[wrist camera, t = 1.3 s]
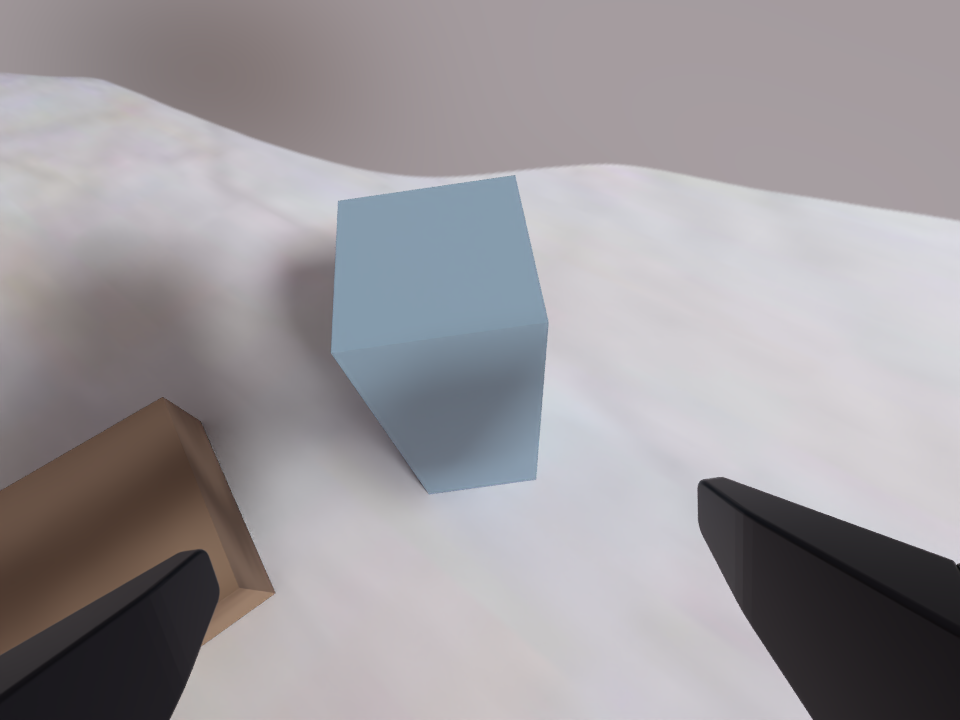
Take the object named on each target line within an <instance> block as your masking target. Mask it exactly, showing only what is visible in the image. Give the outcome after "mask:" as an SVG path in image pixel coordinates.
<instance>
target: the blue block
mask: <svg viewBox="0 0 960 720" xmlns="http://www.w3.org/2000/svg"><path fill="white" fill-rule="evenodd" d="M547 335H548V318H547V314H546V309H545V305H544V300H543V296H542V292H541V287H540V283H539V278H538V274H537V270H536V265H535V261H534V256H533V252H532V248H531V243H530V239H529V234H528V230H527V226H526V221H525V217H524V212H523V208H522V204H521V199H520V195H519V190H518V186H517V182H516V177H515V175H513V176H506V177H499V178H493V179H486V180H479V181H472V182H465V183H458V184H451V185H444V186H438V187H431V188H424V189H417V190H410V191H403V192H396V193H389V194H383V195H376V196H369V197H362V198H355V199H348V200H341V201H338V214H337V235H336V257H335V278H334V299H333V320H332V342H331V354H332V355H333V357H334V358H335V360H336V361H337V363H338V364H339V365H340V367H341V368H342V370H343V371H344V373H345V374H346V375H347V377H348V378H349V380H350V381H351V383H352V384H353V386H354V387H355V388H356V390H357V391H358V393H359V394H360V396H361V397H362V399H363V400H364V401H365V403H366V404H367V406H368V407H369V409H370V410H371V411H372V413H373V414H374V416H375V417H376V419H377V420H378V422H379V423H380V424H381V426H382V427H383V429H384V430H385V432H386V433H387V434H388V436H389V437H390V439H391V440H392V442H393V443H394V445H395V446H396V447H397V449H398V450H399V452H400V453H401V455H402V456H403V457H404V459H405V460H406V462H407V463H408V465H409V466H410V468H411V469H412V470H413V472H414V473H415V475H416V476H417V478H418V479H419V480H420V482H421V483H422V485H423V486H424V488H425V489H426V491H427V492H428V493H429V494H435V493H442V492H449V491H457V490H464V489H471V488H478V487H486V486H493V485H500V484H507V483H515V482H522V481H529V480H536V472H537V460H538V447H539V435H540V422H541V410H542V397H543V385H544V372H545V360H546V347H547Z"/></svg>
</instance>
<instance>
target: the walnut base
mask: <svg viewBox="0 0 960 720" xmlns="http://www.w3.org/2000/svg"><path fill="white" fill-rule="evenodd" d="M196 549H203V550H205V551H206V552H207V553H208V555H209V557H210V560H211V563H212V566H213V569H214V571H215V574H216V577H217V580H218V583H219V588H220V595H219V600H218V603H217V606H216V608H215V611H214V614H213V616H212V619H211V622H210V624H209V627H208V629H207V632H206V635H205V637H204V640H203V643H202V645H204V644H205V643H207V642H208V641H209V640H211V639H212V638H214V637H215V636H216V635H218V634H219V633H221V632H222V631H223V630H225V629H226V628H227V627H229V626H230V625H232V624H233V623H234V622H236V621H237V620H239V619H240V618H241V617H243V616H244V615H246V614H247V613H248V612H250V611H251V610H253V609H254V608H255V607H257V606H258V605H260V604H261V603H262V602H264V601H265V600H267V599H268V598H269V597H271V596H272V595H274V594H275V591H274V589H273V587H272V584H271V582H270V580H269V578H268V575H267V573H266V571H265V568H264V566H263V564H262V562H261V559H260V557H259V555H258V552H257V550H256V548H255V545H254V543H253V541H252V539H251V536H250V534H249V532H248V529H247V527H246V525H245V522H244V520H243V518H242V516H241V513H240V511H239V509H238V506H237V504H236V502H235V500H234V497H233V495H232V493H231V490H230V488H229V486H228V483H227V481H226V479H225V477H224V474H223V472H222V470H221V467H220V465H219V463H218V460H217V458H216V456H215V454H214V451H213V449H212V447H211V444H210V442H209V440H208V438H207V435H206V433H205V431H204V428H203V426H202V424H201V421H199V420H198V419H196V418H195V417H193V416H192V415H190V414H188V413H187V412H185V411H184V410H182V409H181V408H179V407H178V406H176V405H174V404H173V403H171V402H170V401H168V400H167V399H165V398H164V397H162V398H160V399H158V400H157V401H155V402H153V403H151V404H150V405H148V406H146V407H144V408H143V409H141V410H139V411H138V412H136V413H134V414H132V415H131V416H129V417H127V418H125V419H124V420H122V421H120V422H119V423H117V424H115V425H113V426H112V427H110V428H108V429H106V430H105V431H103V432H101V433H100V434H98V435H96V436H94V437H93V438H91V439H89V440H87V441H86V442H84V443H82V444H81V445H79V446H77V447H75V448H74V449H72V450H70V451H68V452H67V453H65V454H63V455H62V456H60V457H58V458H56V459H55V460H53V461H51V462H49V463H48V464H46V465H44V466H43V467H41V468H39V469H37V470H36V471H34V472H32V473H30V474H29V475H27V476H25V477H24V478H22V479H20V480H18V481H17V482H15V483H13V484H11V485H10V486H8V487H6V488H4V489H3V490H1V491H0V655H1V654H3V653H5V652H7V651H8V650H10V649H12V648H13V647H15V646H17V645H19V644H20V643H22V642H24V641H26V640H27V639H29V638H31V637H33V636H34V635H36V634H38V633H40V632H41V631H43V630H45V629H47V628H48V627H50V626H52V625H53V624H55V623H57V622H59V621H60V620H62V619H64V618H66V617H67V616H69V615H71V614H73V613H74V612H76V611H78V610H80V609H81V608H83V607H85V606H86V605H88V604H90V603H92V602H93V601H95V600H97V599H99V598H100V597H102V596H104V595H106V594H107V593H109V592H111V591H113V590H114V589H116V588H118V587H120V586H121V585H123V584H125V583H126V582H128V581H130V580H132V579H133V578H135V577H137V576H139V575H140V574H142V573H144V572H146V571H147V570H149V569H151V568H153V567H154V566H156V565H158V564H159V563H161V562H163V561H165V560H166V559H168V558H170V557H172V556H173V555H175V554H177V553H179V552H182V551H189V550H196ZM202 645H201V646H202Z"/></svg>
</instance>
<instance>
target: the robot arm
mask: <svg viewBox="0 0 960 720" xmlns="http://www.w3.org/2000/svg"><path fill="white" fill-rule="evenodd" d="M698 523H699V527H700V530H701V533H702V535H703V537H704V539H705V541H706V543H707V545H708V547H709V549H710V551H711V553H712V555H713V557H714V558H715V560H716V562H717V564H718V566H719V568H720V570H721V572H722V574H723V576H724V578H725V580H726V582H727V584H728V585H729V587H730V589H731V591H732V593H733V595H734V597H735V599H736V601H737V603H738V604H739V606H740V608H741V610H742V612H743V613H744V615H745V616H746V618H747V620H748V621H749V623H750V624H751V626H752V628H753V629H754V631H755V632H756V634H757V635H758V637H759V638H760V640H761V641H762V643H763V644H764V646H765V647H766V649H767V650H768V652H769V653H770V655H771V656H772V658H773V660H774V661H775V663H776V664H777V666H778V667H779V669H780V670H781V672H782V673H783V675H784V676H785V678H786V679H787V681H788V682H789V684H790V685H791V687H792V688H793V690H794V692H795V693H796V695H797V696H798V698H799V699H800V701H801V702H802V704H803V705H804V707H805V708H806V710H807V711H808V713H809V714H810V716H811V717H812V719H813V720H960V563H959V564H957V565H956V563H955V562H954V561H953V560H950V559H948V558H945V557H942V556H939V555H937V554H934V553H931V552H928V551H926V550H923V549H920V548H917V547H915V546H912V545H909V544H906V543H903V542H901V541H898V540H895V539H892V538H890V537H887V536H884V535H881V534H879V533H876V532H873V531H870V530H868V529H865V528H862V527H859V526H857V525H854V524H851V523H848V522H846V521H843V520H840V519H837V518H835V517H832V516H829V515H826V514H823V513H821V512H818V511H815V510H812V509H810V508H807V507H804V506H801V505H799V504H796V503H793V502H790V501H788V500H785V499H782V498H779V497H777V496H774V495H771V494H768V493H766V492H763V491H760V490H757V489H755V488H752V487H749V486H746V485H744V484H741V483H738V482H735V481H733V480H730V479H727V478H724V477H717V478H710V479H703V480H701V481H700V482H699V484H698ZM219 595H220V588H219V583H218V580H217V577H216V574H215V571H214V569H213V566H212V563H211V560H210V557H209V555H208V553H207V552H206V551H205V550H203V549H196V550H189V551H182V552H179V553H177V554H175V555H173V556H172V557H170V558H168V559H166V560H165V561H163V562H161V563H159V564H158V565H156V566H154V567H153V568H151V569H149V570H147V571H146V572H144V573H142V574H140V575H139V576H137V577H135V578H133V579H132V580H130V581H128V582H126V583H125V584H123V585H121V586H120V587H118V588H116V589H114V590H113V591H111V592H109V593H107V594H106V595H104V596H102V597H100V598H99V599H97V600H95V601H93V602H92V603H90V604H88V605H86V606H85V607H83V608H81V609H80V610H78V611H76V612H74V613H73V614H71V615H69V616H67V617H66V618H64V619H62V620H60V621H59V622H57V623H55V624H53V625H52V626H50V627H48V628H47V629H45V630H43V631H41V632H40V633H38V634H36V635H34V636H33V637H31V638H29V639H27V640H26V641H24V642H22V643H20V644H19V645H17V646H15V647H13V648H12V649H10V650H8V651H7V652H5V653H3V654H1V655H0V720H170V718H171V716H172V714H173V712H174V710H175V708H176V706H177V704H178V701H179V699H180V697H181V695H182V693H183V690H184V688H185V686H186V684H187V681H188V679H189V676H190V674H191V671H192V669H193V666H194V664H195V661H196V658H197V656H198V653H199V650H200V648H201V645H202V643H203V640H204V637H205V635H206V632H207V629H208V627H209V624H210V622H211V619H212V616H213V614H214V611H215V608H216V606H217V603H218V600H219Z"/></svg>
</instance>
